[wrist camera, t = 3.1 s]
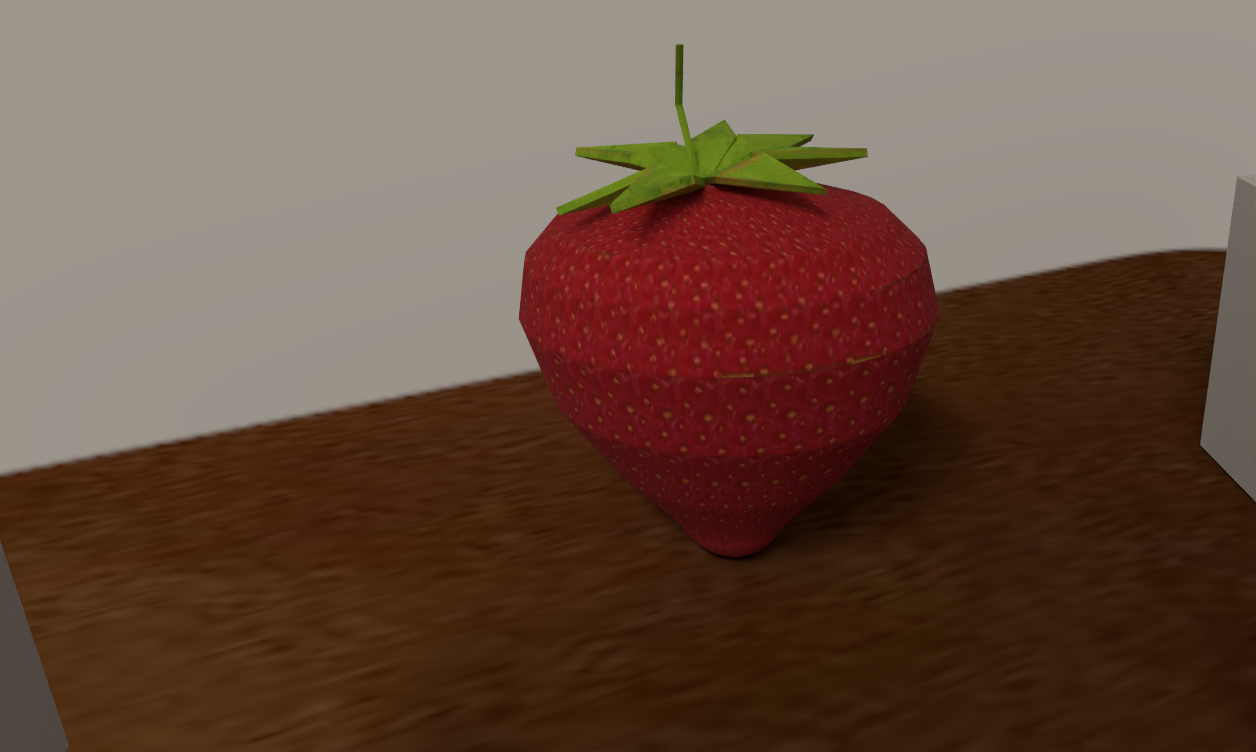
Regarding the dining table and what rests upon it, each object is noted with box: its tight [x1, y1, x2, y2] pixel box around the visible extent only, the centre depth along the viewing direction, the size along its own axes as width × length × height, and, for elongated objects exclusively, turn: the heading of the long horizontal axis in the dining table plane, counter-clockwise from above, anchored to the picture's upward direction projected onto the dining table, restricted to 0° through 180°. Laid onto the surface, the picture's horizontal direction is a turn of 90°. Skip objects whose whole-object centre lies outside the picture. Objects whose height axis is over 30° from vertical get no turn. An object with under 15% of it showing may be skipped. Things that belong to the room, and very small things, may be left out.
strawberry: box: [519, 44, 938, 557], centre depth 21 cm, size 6×8×10 cm
